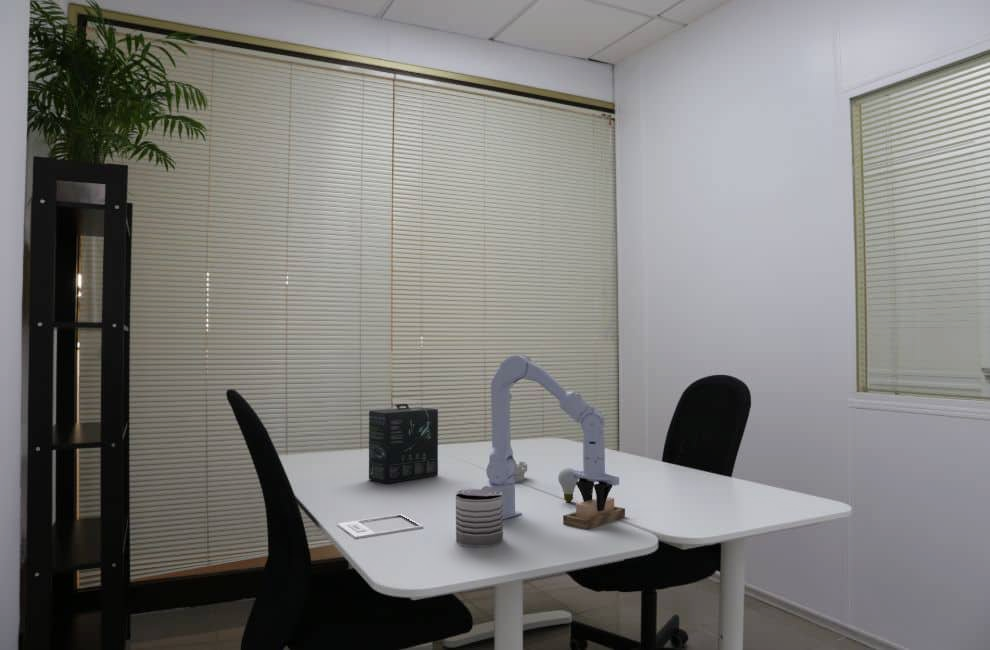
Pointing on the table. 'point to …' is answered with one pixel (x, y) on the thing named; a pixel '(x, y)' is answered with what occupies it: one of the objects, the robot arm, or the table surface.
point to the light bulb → (567, 483)
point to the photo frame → (362, 531)
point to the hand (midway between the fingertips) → (594, 509)
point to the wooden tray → (593, 518)
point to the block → (593, 508)
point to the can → (479, 518)
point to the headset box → (403, 444)
